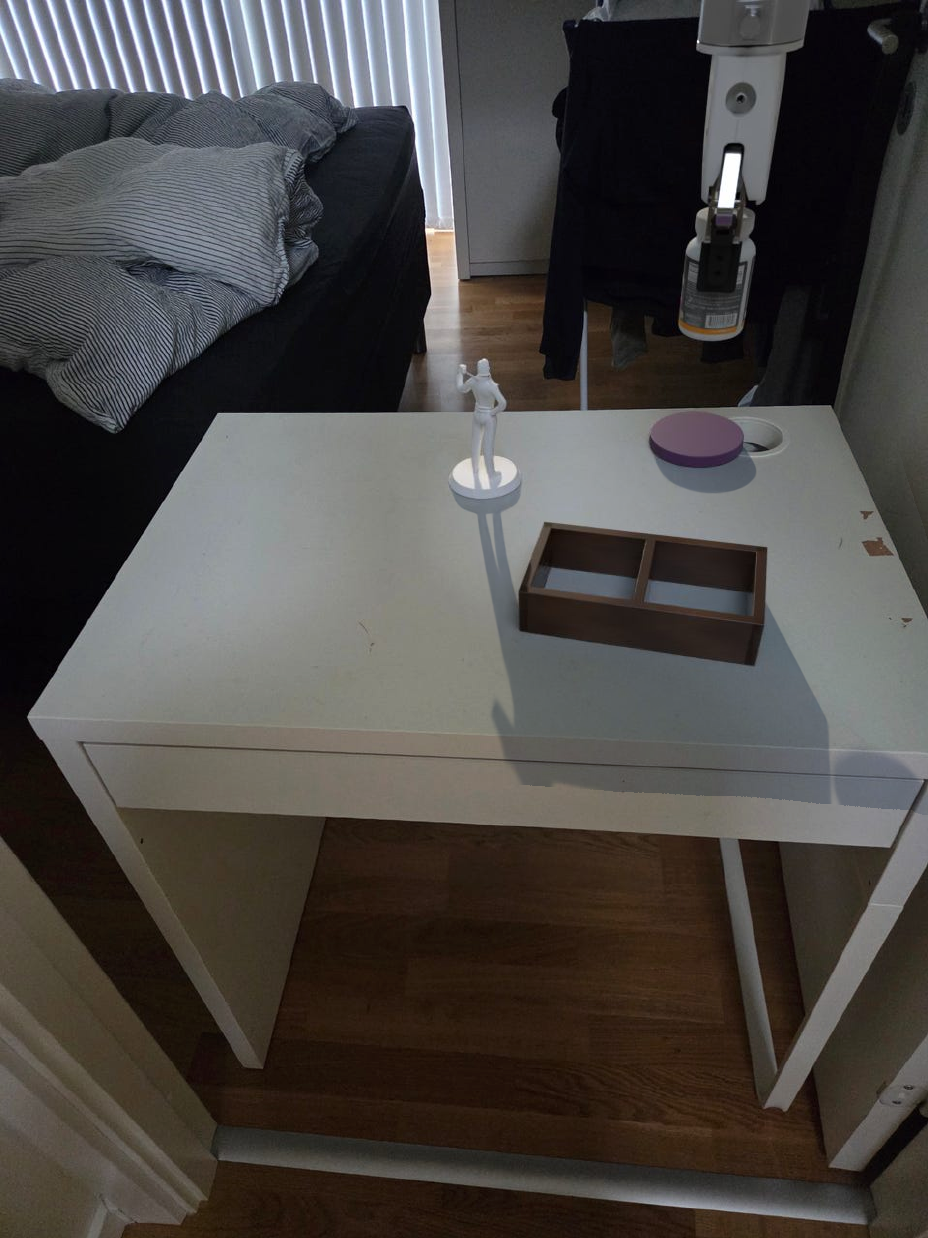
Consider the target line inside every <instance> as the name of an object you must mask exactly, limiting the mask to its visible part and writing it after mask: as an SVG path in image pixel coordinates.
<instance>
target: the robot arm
mask: <svg viewBox="0 0 928 1238" xmlns="http://www.w3.org/2000/svg"><path fill="white" fill-rule="evenodd" d="M811 1H812V0H700V8H699V19H698V27H697V29H698V30H697V40H696V51H697V52H699V53H702V54H707V55H711V63H710V71H709V81H708V90H707V101H706V109H705V110H706V111H705V121H704V131H703V132H704V133H703V144H702V163H701V191H700V192H701V194H700V198H701V200H702V201H703V202H704V203H705V204H706V205H708V206H707V207H709V209H708V216H707V224H706V231H705V239H704V240H702V242H701V249H700V258H699V266H698V275H697V283H696V289H697V291H699V292H713V293H733V292H734V291H735V289H736V283H737V276H738V270H739V263H740V256H741V250H742V243H743V241H740V235H741V228H742V221H743V214H744V208H746V205H747V202H746V199H748V201H755V205H756V206H759V205H761V204H762V203H763V202H764V201H765V200H766V195H767V189H768V185H769V184H768V182H769V177H770V171H771V165H772V158H773V152H774V146H775V140H776V134H777V129H778V123H779V122H778V121H779V116H780V109H781V103H782V95H783V88H784V81H785V74H786V73H785V72H786V61H787V53H790V52H794V51H797V50H799V49H801V48H803V47H804V42H805V36H806V30H807V24H808V19H809V13H810V6H811ZM715 209H717V214H715ZM734 209H738V210H737V216H736V214H733V212H734ZM734 229H735V230H734ZM733 233H734V235H733ZM711 238H712V239H711Z"/></svg>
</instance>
